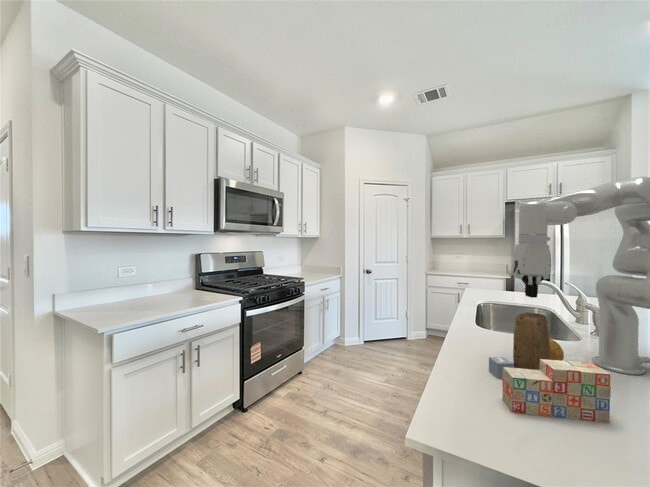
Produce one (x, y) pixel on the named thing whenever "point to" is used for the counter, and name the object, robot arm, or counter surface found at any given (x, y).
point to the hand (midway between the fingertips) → (531, 296)
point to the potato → (555, 351)
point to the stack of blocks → (559, 390)
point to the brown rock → (530, 341)
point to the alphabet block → (499, 366)
